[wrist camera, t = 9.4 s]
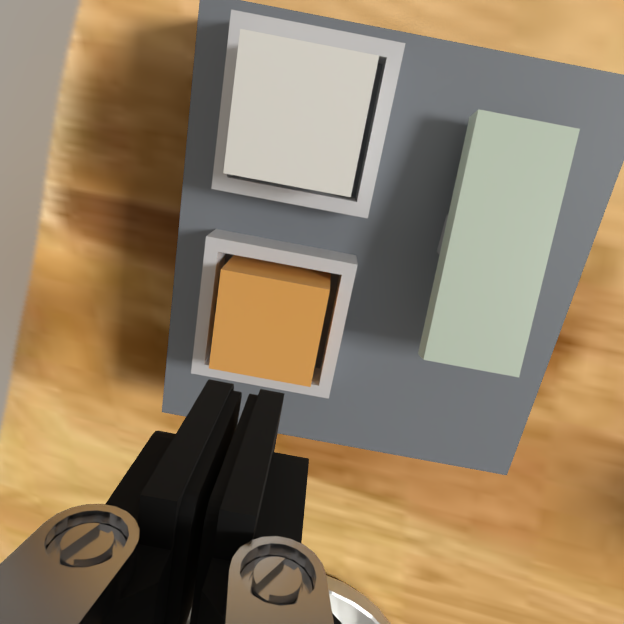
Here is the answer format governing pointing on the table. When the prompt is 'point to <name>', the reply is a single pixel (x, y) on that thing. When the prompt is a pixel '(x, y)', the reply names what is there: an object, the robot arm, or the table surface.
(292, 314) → the orange button
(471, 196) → the block
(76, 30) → the table surface
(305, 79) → the cream button
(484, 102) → the switch panel
